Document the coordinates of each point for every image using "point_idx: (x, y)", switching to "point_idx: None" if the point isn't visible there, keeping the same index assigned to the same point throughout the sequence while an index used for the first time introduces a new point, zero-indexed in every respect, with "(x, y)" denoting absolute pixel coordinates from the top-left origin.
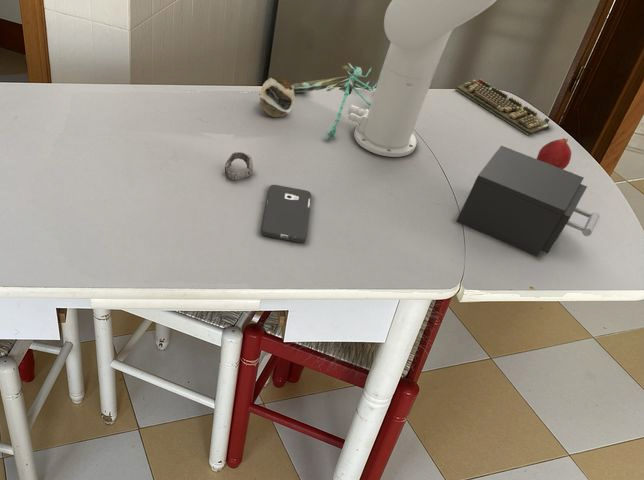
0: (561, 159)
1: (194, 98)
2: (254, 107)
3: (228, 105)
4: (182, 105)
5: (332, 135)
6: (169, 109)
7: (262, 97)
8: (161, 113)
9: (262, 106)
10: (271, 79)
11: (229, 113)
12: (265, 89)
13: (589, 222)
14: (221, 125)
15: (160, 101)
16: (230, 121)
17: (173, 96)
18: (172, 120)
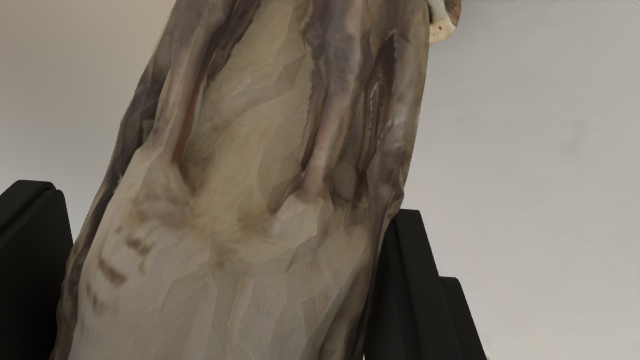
0: None
1: (458, 212)
2: None
3: (441, 117)
4: (515, 219)
5: None
6: (555, 235)
7: (448, 19)
8: (587, 240)
9: (460, 1)
10: None
11: (489, 92)
12: (430, 25)
13: None
14: (577, 79)
15: (524, 269)
16: (538, 67)
17: (479, 257)
18: (612, 203)
